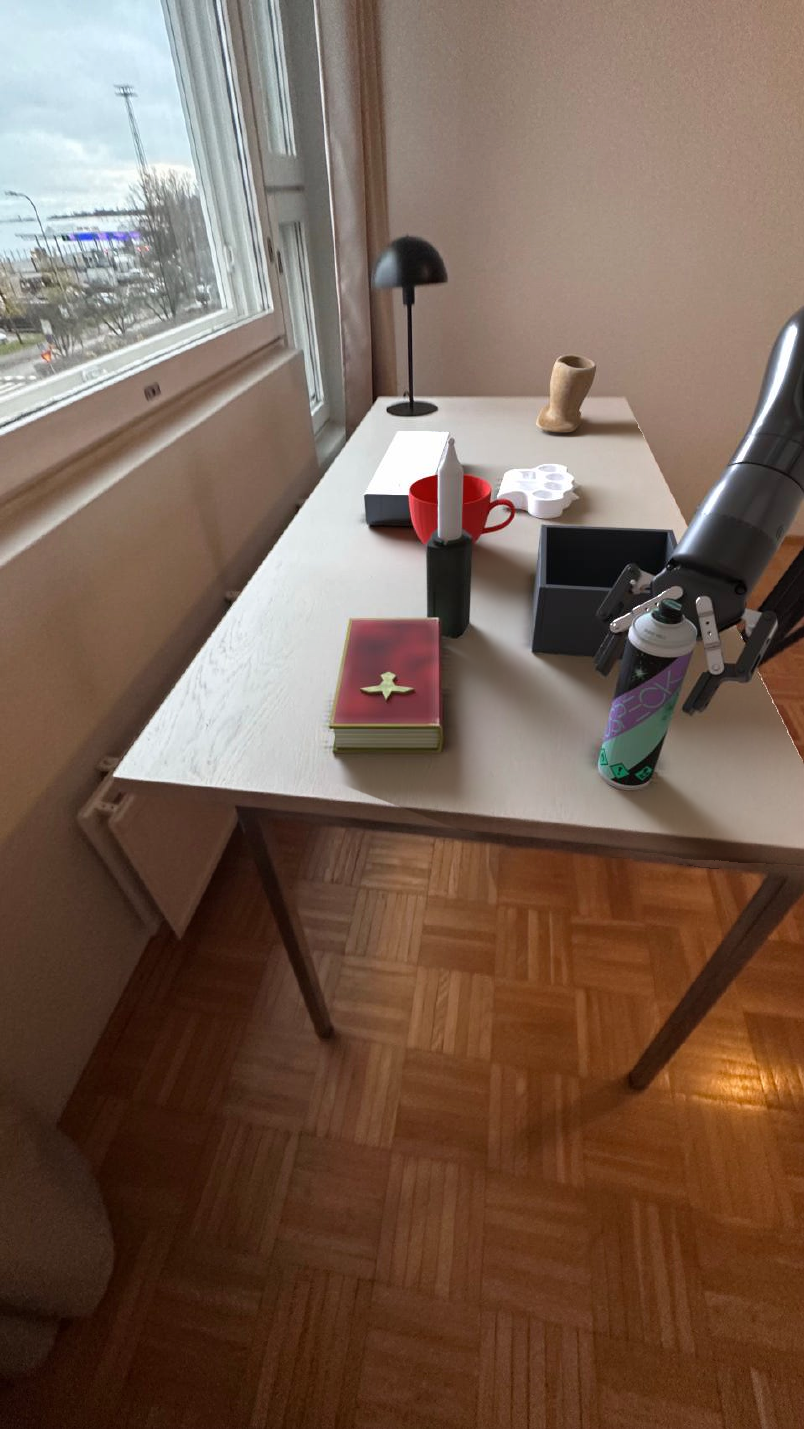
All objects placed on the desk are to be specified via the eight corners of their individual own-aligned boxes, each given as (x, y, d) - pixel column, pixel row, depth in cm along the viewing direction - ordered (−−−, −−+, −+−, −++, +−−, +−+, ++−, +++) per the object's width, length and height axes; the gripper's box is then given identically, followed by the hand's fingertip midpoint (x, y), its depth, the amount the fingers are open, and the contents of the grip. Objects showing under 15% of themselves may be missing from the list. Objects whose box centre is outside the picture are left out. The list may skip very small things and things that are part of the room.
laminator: (428, 530, 110) (428, 496, 106) (360, 528, 112) (357, 493, 108) (449, 462, 135) (450, 431, 131) (393, 460, 137) (392, 430, 133)
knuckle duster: (506, 478, 127) (580, 482, 124) (494, 515, 114) (577, 520, 111) (507, 461, 125) (583, 465, 122) (495, 497, 112) (580, 502, 109)
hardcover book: (441, 642, 84) (441, 615, 81) (442, 753, 68) (443, 724, 66) (352, 643, 85) (349, 616, 82) (333, 752, 69) (328, 724, 66)
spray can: (594, 751, 68) (631, 585, 55) (646, 753, 67) (697, 586, 54) (601, 789, 64) (643, 620, 50) (657, 792, 63) (714, 621, 50)
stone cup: (584, 438, 144) (594, 364, 134) (531, 435, 147) (538, 362, 137) (590, 418, 154) (601, 349, 144) (541, 416, 157) (549, 347, 148)
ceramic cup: (504, 573, 98) (509, 511, 91) (400, 561, 102) (397, 501, 95) (518, 537, 107) (523, 478, 100) (422, 527, 111) (421, 470, 105)
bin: (657, 591, 92) (673, 529, 86) (674, 663, 79) (694, 595, 73) (534, 585, 95) (541, 524, 88) (531, 652, 82) (539, 587, 75)
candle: (424, 633, 86) (421, 443, 70) (437, 613, 90) (437, 429, 73) (460, 639, 84) (465, 447, 68) (471, 620, 88) (479, 432, 72)
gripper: (820, 574, 55) (722, 736, 57) (667, 528, 63) (585, 671, 64) (822, 537, 49) (712, 720, 50) (652, 491, 57) (562, 651, 58)
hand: (641, 692), depth 57 cm, fingers open, 8 cm apart
